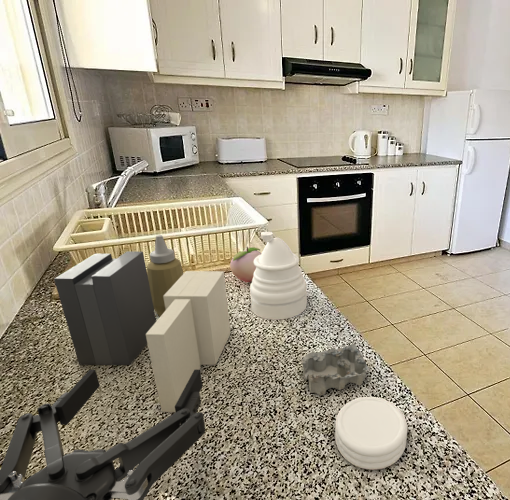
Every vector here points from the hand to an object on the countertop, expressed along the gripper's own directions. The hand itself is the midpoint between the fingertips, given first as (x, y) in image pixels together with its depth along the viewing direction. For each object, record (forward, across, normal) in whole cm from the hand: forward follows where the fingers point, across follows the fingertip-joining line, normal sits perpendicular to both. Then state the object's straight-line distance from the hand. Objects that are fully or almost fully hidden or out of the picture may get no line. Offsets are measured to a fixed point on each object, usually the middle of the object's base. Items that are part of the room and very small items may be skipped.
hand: (147, 377), depth 50 cm
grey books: (+20, -16, -10) cm, 27 cm away
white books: (+20, 0, -10) cm, 22 cm away
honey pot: (+36, +12, -10) cm, 39 cm away
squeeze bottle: (+33, -12, -10) cm, 36 cm away
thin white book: (+9, 0, -10) cm, 13 cm away
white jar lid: (-2, +30, -10) cm, 32 cm away
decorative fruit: (+48, +3, -10) cm, 49 cm away
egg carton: (+12, +25, -10) cm, 29 cm away
